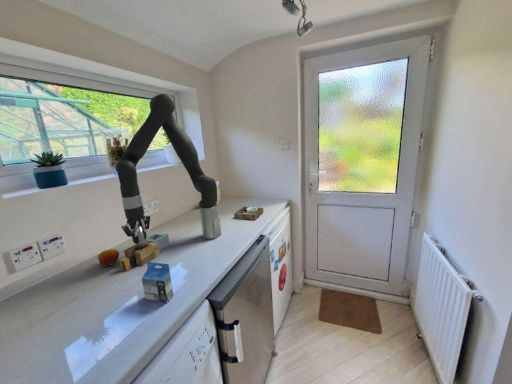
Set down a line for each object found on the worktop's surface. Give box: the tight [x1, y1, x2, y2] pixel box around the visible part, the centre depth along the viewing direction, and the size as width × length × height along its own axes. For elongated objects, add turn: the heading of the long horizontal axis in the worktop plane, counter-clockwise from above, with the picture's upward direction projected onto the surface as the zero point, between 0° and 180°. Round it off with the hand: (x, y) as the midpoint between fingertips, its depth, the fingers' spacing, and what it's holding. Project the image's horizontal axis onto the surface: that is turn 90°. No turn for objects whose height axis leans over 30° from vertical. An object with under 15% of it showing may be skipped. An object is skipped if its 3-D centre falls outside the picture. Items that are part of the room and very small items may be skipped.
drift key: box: [119, 253, 137, 272], centre depth 100 cm, size 3×8×5 cm, turn 158°
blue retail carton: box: [141, 261, 174, 303], centre depth 77 cm, size 9×4×12 cm, turn 77°
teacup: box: [246, 206, 259, 214], centre depth 155 cm, size 10×10×5 cm
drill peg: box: [133, 226, 146, 250], centre depth 104 cm, size 4×4×15 cm
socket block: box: [123, 241, 161, 267], centre depth 106 cm, size 10×10×6 cm
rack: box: [145, 232, 170, 251], centre depth 117 cm, size 9×9×6 cm
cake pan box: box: [216, 181, 221, 205], centre depth 182 cm, size 19×5×18 cm, turn 168°
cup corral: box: [233, 206, 264, 221], centre depth 155 cm, size 15×15×4 cm
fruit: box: [97, 248, 120, 268], centre depth 102 cm, size 8×8×8 cm
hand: (140, 241), depth 104 cm, fingers closed on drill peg, 3 cm apart
